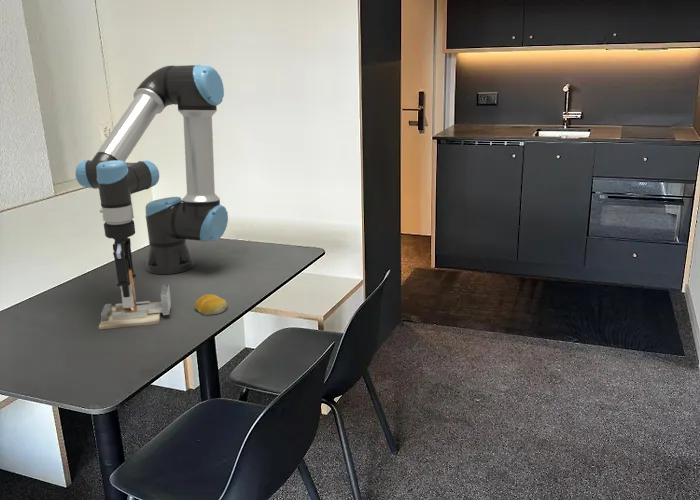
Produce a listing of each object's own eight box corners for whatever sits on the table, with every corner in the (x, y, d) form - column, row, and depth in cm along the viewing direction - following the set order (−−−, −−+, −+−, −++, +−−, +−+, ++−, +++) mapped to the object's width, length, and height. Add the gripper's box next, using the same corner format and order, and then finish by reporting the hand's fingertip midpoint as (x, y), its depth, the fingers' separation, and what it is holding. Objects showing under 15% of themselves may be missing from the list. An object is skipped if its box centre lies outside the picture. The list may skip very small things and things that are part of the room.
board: (107, 309, 180) (107, 306, 180) (162, 304, 183) (162, 301, 183) (99, 329, 167) (98, 326, 167) (158, 323, 170) (158, 321, 170)
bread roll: (207, 318, 173) (205, 305, 172) (191, 309, 180) (190, 296, 179) (233, 310, 178) (232, 297, 177) (217, 301, 185) (216, 288, 184)
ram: (126, 307, 178) (120, 266, 175) (171, 303, 181) (166, 262, 177) (122, 319, 171) (116, 275, 167) (169, 314, 173) (164, 272, 169)
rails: (106, 310, 177) (105, 304, 177) (150, 306, 179) (149, 300, 179) (101, 321, 170) (100, 314, 170) (147, 317, 172) (146, 310, 172)
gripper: (108, 214, 174) (119, 294, 181) (97, 230, 159) (110, 317, 166) (137, 212, 175) (147, 292, 183) (129, 228, 160) (140, 314, 167)
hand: (129, 304), depth 174 cm, fingers closed on ram, 3 cm apart
